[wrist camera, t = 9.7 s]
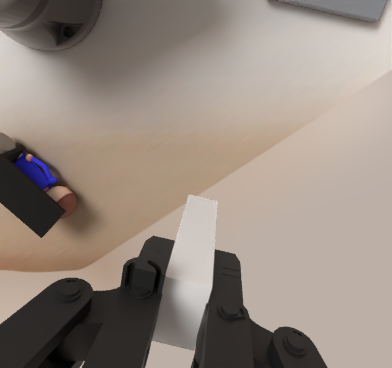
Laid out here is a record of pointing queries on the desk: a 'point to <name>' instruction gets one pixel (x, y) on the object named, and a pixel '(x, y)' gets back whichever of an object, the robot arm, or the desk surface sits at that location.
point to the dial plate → (345, 7)
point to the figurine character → (31, 189)
